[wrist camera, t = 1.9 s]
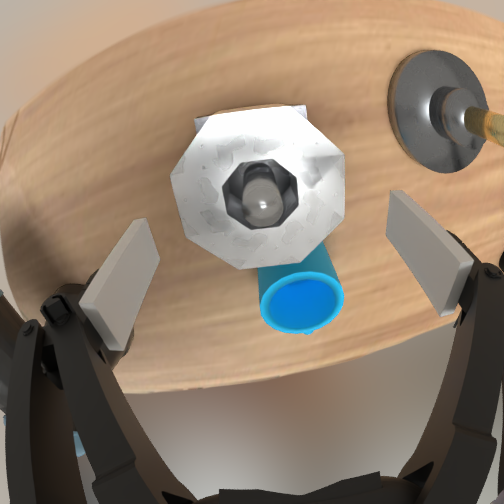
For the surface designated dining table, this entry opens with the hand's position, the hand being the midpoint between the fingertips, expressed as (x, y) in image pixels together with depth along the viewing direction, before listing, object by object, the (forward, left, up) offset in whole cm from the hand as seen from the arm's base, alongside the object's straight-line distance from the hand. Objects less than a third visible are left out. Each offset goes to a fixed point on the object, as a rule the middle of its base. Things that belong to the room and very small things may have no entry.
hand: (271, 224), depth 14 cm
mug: (+3, -14, -15) cm, 20 cm away
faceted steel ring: (0, 0, -8) cm, 8 cm away
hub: (+21, +5, -14) cm, 26 cm away
